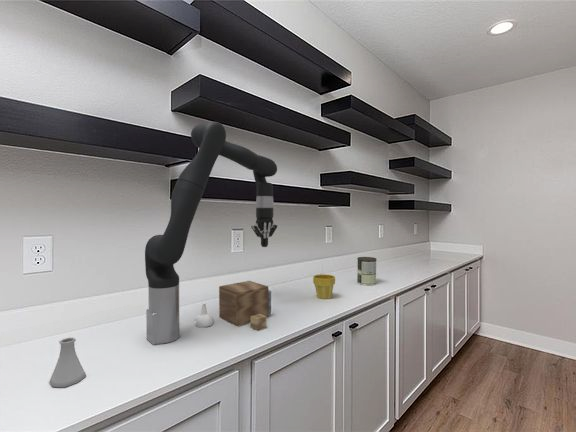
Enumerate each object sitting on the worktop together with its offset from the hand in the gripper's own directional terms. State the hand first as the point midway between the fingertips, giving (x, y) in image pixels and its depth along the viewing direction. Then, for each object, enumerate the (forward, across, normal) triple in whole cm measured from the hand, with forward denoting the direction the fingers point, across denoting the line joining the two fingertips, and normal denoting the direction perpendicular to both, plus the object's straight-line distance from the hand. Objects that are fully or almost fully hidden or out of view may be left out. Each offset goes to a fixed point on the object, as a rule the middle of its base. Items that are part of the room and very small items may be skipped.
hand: (264, 246), depth 138 cm
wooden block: (+25, -18, -20) cm, 37 cm away
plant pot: (+25, +28, -10) cm, 39 cm away
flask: (+26, -73, -17) cm, 79 cm away
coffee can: (+25, +66, -7) cm, 71 cm away
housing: (+25, -16, -8) cm, 31 cm away
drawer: (+24, -14, -8) cm, 29 cm away
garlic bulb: (+26, -31, -5) cm, 40 cm away
